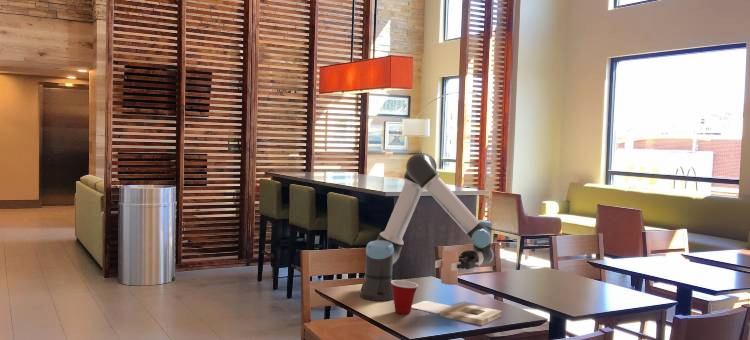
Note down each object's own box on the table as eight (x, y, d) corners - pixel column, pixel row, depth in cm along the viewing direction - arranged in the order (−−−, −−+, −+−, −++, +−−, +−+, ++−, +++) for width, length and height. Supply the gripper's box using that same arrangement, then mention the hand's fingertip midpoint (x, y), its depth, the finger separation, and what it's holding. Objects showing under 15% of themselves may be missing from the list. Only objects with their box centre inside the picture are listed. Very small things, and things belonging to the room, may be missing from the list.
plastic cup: (414, 317, 245) (416, 286, 245) (387, 314, 248) (388, 284, 247) (418, 310, 256) (420, 280, 255) (392, 308, 258) (393, 278, 258)
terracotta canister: (438, 282, 257) (440, 250, 256) (446, 280, 262) (448, 248, 261) (452, 285, 253) (454, 252, 252) (460, 283, 258) (462, 250, 258)
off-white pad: (407, 307, 260) (407, 306, 260) (425, 301, 272) (425, 300, 271) (437, 314, 252) (437, 313, 252) (454, 307, 263) (454, 306, 263)
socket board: (439, 316, 249) (440, 311, 249) (461, 307, 264) (461, 302, 264) (482, 325, 239) (482, 320, 239) (502, 316, 254) (502, 311, 254)
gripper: (491, 271, 266) (465, 279, 248) (450, 264, 278) (422, 271, 259) (492, 253, 266) (466, 260, 247) (451, 246, 277) (423, 252, 259)
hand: (443, 265), depth 253 cm, fingers closed on terracotta canister, 6 cm apart
